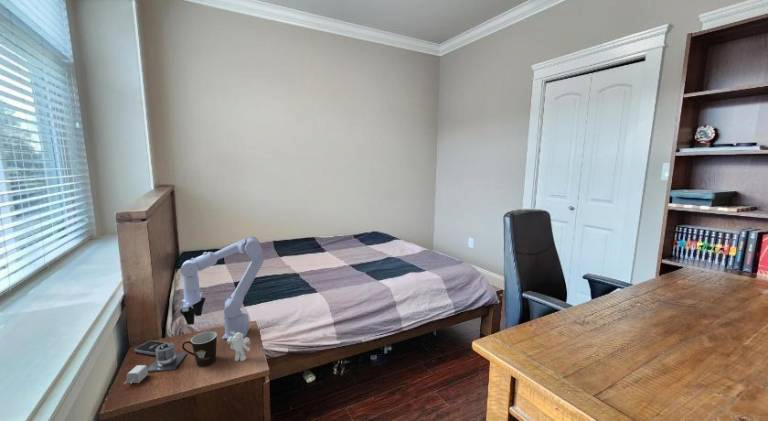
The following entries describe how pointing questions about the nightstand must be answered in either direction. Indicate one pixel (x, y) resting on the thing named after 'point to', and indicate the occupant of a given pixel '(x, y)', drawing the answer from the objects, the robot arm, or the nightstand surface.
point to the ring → (165, 351)
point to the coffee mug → (203, 348)
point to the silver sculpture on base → (167, 363)
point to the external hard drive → (148, 348)
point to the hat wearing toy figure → (238, 345)
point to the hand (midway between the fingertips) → (194, 319)
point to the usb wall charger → (137, 374)
